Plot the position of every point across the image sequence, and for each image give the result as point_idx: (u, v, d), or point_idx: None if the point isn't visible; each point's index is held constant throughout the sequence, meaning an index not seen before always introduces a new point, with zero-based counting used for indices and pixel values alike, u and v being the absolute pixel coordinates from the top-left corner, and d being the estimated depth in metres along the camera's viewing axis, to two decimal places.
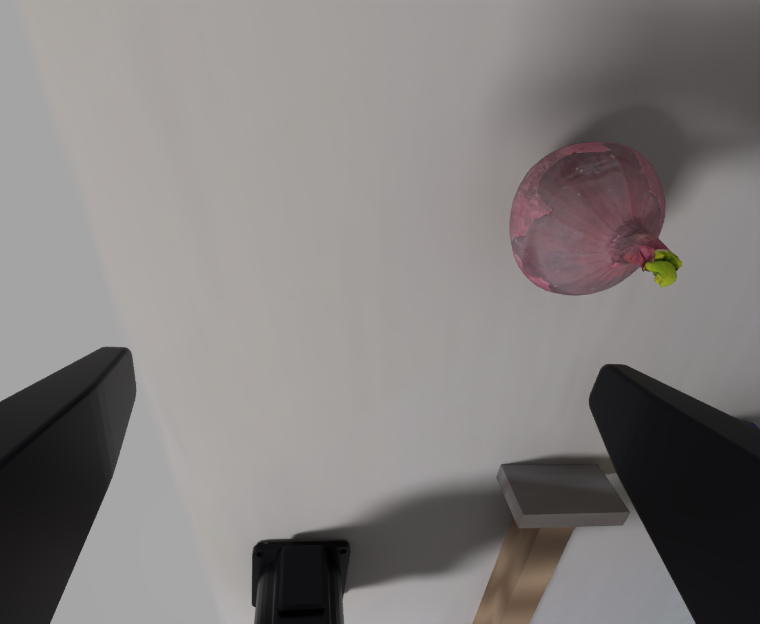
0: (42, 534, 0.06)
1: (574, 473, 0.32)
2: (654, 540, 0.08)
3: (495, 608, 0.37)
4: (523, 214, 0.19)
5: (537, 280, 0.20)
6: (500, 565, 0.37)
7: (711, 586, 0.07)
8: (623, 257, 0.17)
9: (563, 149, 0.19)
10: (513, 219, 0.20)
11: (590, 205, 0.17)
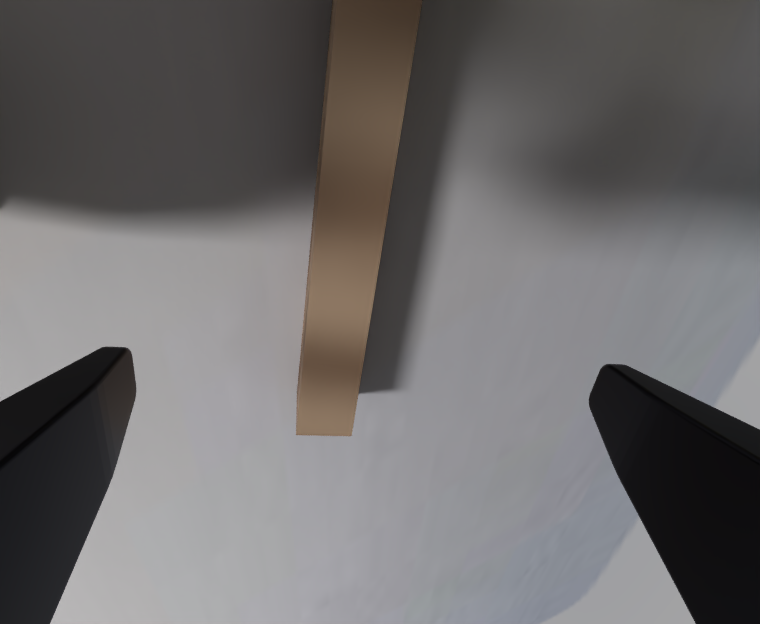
0: (42, 534, 0.06)
1: None
2: (653, 540, 0.08)
3: (312, 250, 0.18)
4: None
5: None
6: (319, 153, 0.18)
7: (711, 586, 0.07)
8: None
9: None
10: None
11: None
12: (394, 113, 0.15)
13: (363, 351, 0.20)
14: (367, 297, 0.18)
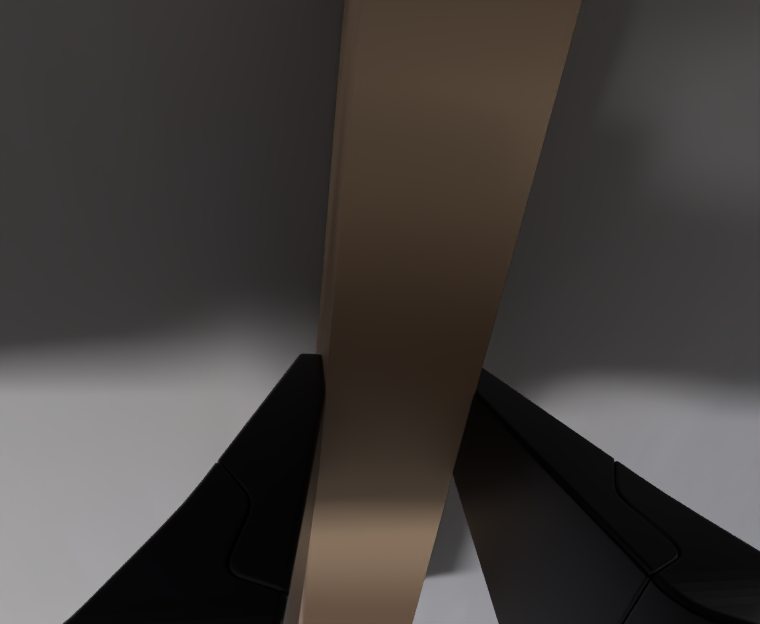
0: (308, 527, 0.07)
1: None
2: (475, 547, 0.08)
3: None
4: None
5: None
6: (328, 233, 0.09)
7: (512, 597, 0.07)
8: None
9: None
10: None
11: None
12: (514, 163, 0.06)
13: (417, 593, 0.10)
14: (429, 515, 0.09)
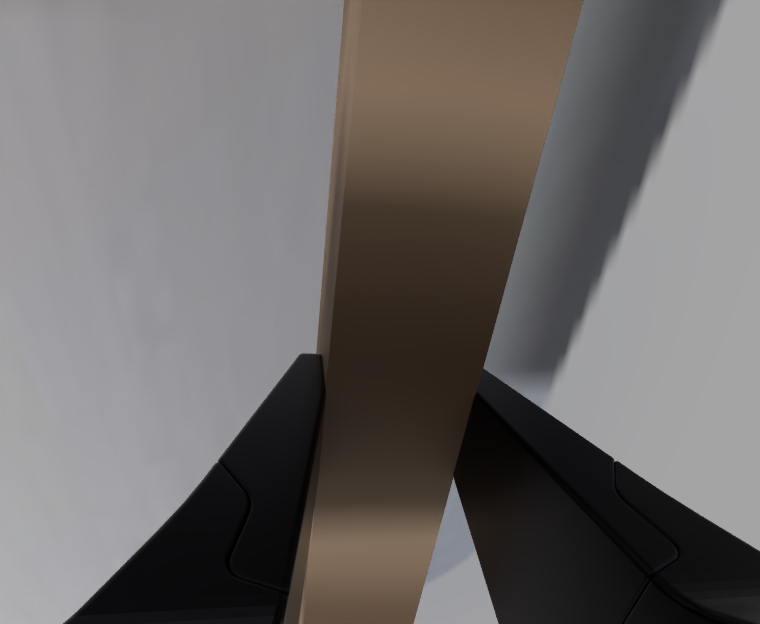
0: (308, 527, 0.07)
1: None
2: (475, 546, 0.08)
3: None
4: None
5: None
6: (328, 235, 0.09)
7: (511, 597, 0.07)
8: None
9: None
10: None
11: None
12: (515, 165, 0.06)
13: (417, 596, 0.10)
14: (429, 518, 0.09)
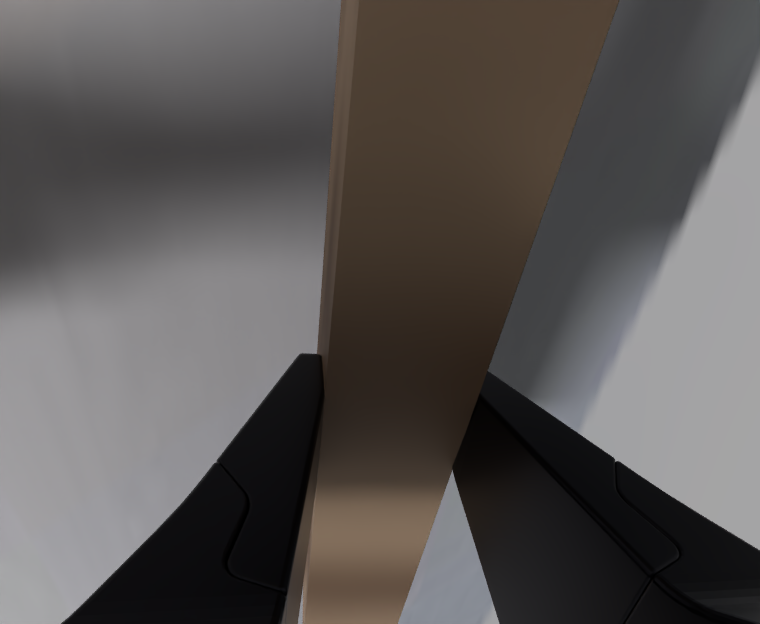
0: (307, 527, 0.07)
1: None
2: (477, 546, 0.08)
3: None
4: None
5: None
6: (327, 239, 0.08)
7: (512, 597, 0.07)
8: None
9: None
10: None
11: None
12: (523, 201, 0.06)
13: (414, 569, 0.11)
14: (425, 510, 0.10)
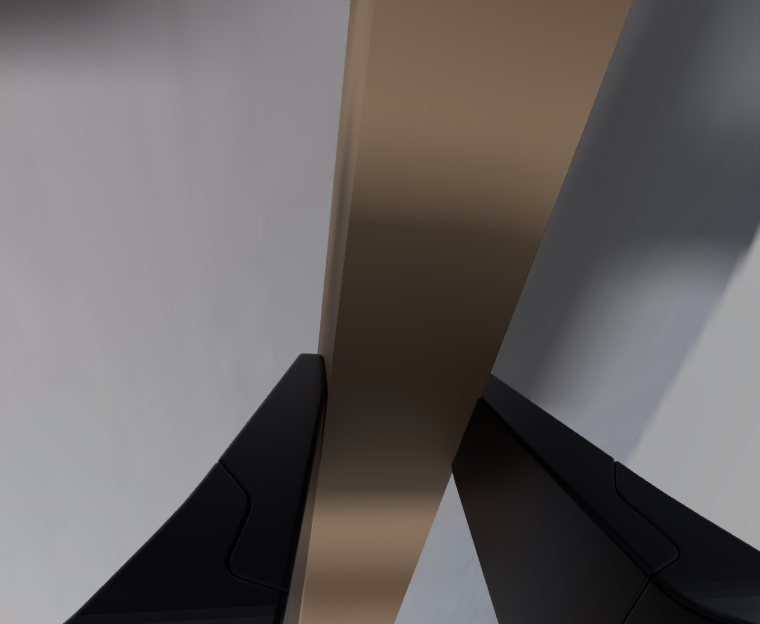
0: (308, 527, 0.07)
1: None
2: (475, 546, 0.08)
3: None
4: None
5: None
6: (331, 240, 0.08)
7: (511, 597, 0.07)
8: None
9: None
10: None
11: None
12: (530, 204, 0.06)
13: (411, 570, 0.11)
14: (425, 511, 0.10)
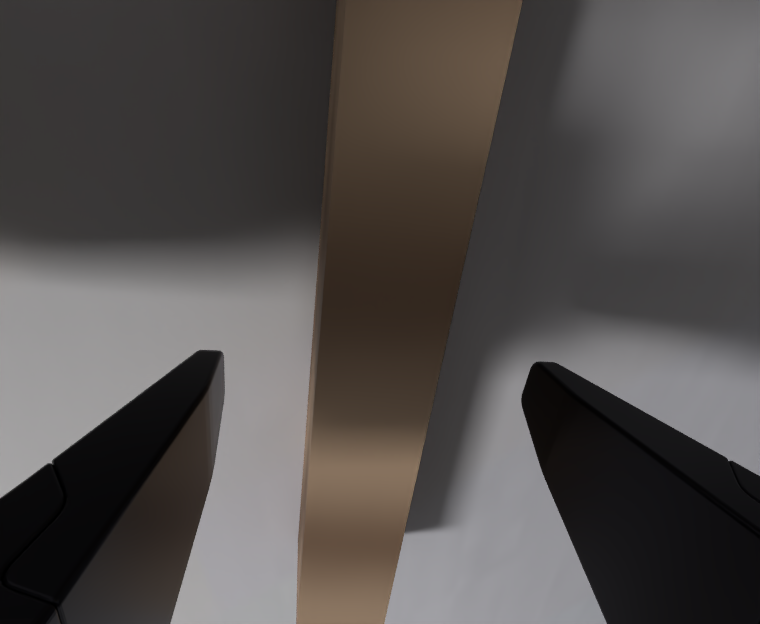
0: (172, 530, 0.06)
1: None
2: (574, 543, 0.08)
3: (314, 365, 0.10)
4: None
5: None
6: (324, 196, 0.10)
7: (622, 591, 0.07)
8: None
9: None
10: None
11: None
12: (475, 125, 0.07)
13: (404, 521, 0.12)
14: (412, 445, 0.11)
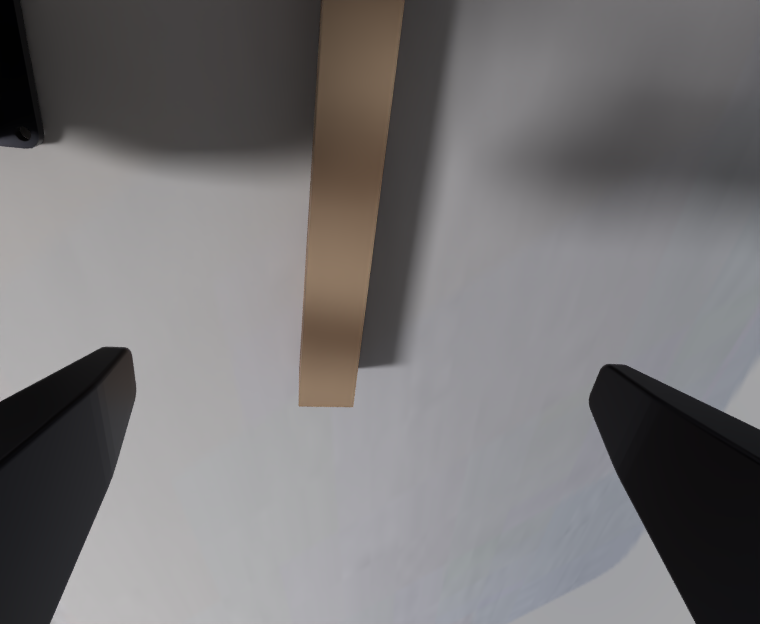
0: (42, 534, 0.06)
1: None
2: (654, 540, 0.08)
3: (309, 220, 0.19)
4: None
5: None
6: (314, 124, 0.18)
7: (711, 586, 0.07)
8: None
9: None
10: None
11: None
12: (385, 78, 0.16)
13: (362, 320, 0.20)
14: (364, 265, 0.19)
